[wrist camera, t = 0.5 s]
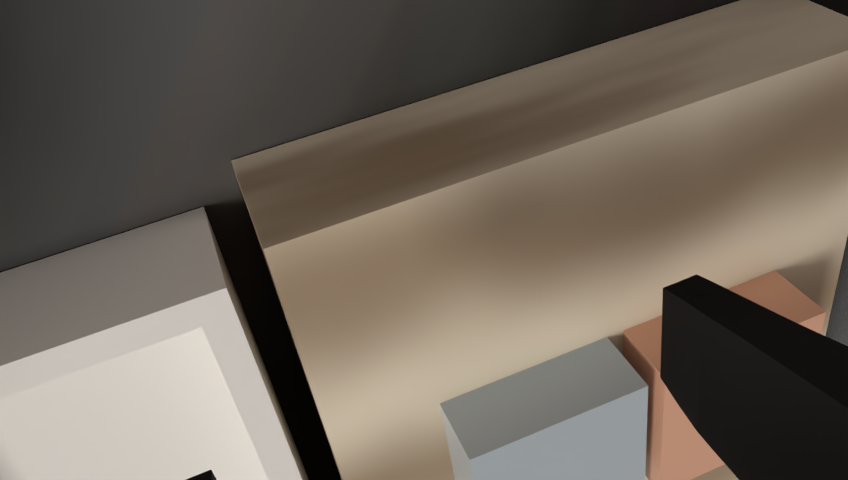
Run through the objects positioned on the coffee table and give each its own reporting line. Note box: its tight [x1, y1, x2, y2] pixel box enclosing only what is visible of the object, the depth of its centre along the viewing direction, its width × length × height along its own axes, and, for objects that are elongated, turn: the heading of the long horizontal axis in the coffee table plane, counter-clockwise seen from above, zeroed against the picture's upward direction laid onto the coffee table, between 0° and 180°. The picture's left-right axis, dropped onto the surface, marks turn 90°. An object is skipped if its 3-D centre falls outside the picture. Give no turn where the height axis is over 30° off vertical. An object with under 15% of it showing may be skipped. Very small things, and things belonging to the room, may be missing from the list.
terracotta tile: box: [623, 270, 826, 480], centre depth 23 cm, size 5×5×2 cm
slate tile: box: [440, 337, 648, 480], centre depth 22 cm, size 5×5×2 cm
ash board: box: [231, 0, 848, 480], centre depth 25 cm, size 18×16×4 cm
